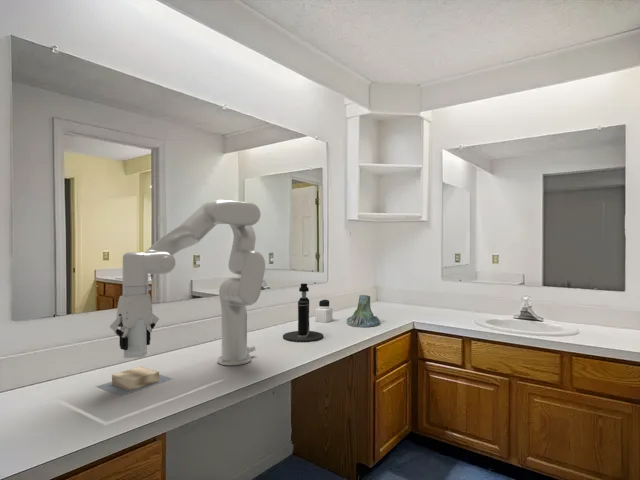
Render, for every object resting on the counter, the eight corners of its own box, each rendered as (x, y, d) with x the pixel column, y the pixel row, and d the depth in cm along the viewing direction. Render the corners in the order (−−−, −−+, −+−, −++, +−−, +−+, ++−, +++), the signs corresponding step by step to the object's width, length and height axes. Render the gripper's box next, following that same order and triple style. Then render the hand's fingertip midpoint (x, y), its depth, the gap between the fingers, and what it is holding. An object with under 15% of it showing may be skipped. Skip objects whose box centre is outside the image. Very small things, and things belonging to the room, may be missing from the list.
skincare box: (147, 354, 134) (147, 317, 134) (142, 358, 130) (142, 319, 130) (127, 354, 133) (127, 317, 133) (122, 358, 129) (122, 320, 129)
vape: (325, 333, 203) (324, 282, 203) (321, 342, 184) (321, 287, 184) (286, 332, 205) (286, 282, 205) (279, 341, 186) (279, 286, 186)
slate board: (148, 373, 143) (148, 371, 143) (173, 381, 135) (173, 378, 135) (95, 389, 128) (95, 386, 128) (120, 398, 120) (120, 396, 120)
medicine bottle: (332, 320, 234) (332, 299, 234) (326, 322, 228) (326, 301, 228) (322, 319, 238) (321, 298, 238) (315, 321, 232) (315, 300, 232)
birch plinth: (141, 375, 139) (141, 366, 139) (159, 381, 133) (159, 371, 133) (112, 383, 130) (112, 374, 130) (129, 390, 125) (129, 380, 125)
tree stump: (340, 326, 220) (341, 293, 225) (353, 328, 238) (354, 297, 242) (373, 328, 213) (374, 293, 217) (384, 329, 230) (384, 297, 235)
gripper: (153, 287, 141) (152, 339, 141) (102, 292, 126) (101, 351, 126) (166, 289, 137) (166, 343, 136) (115, 294, 122) (115, 354, 122)
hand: (135, 346), depth 131 cm, fingers closed on skincare box, 6 cm apart
